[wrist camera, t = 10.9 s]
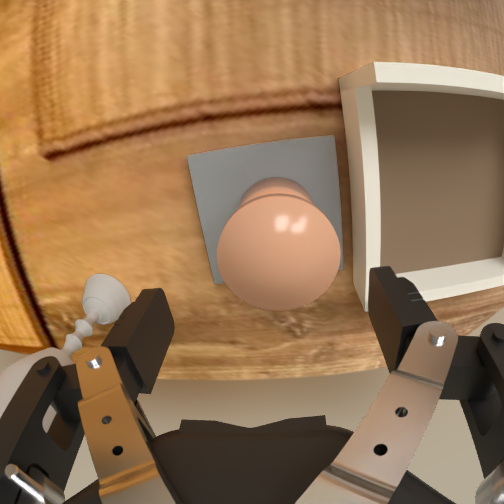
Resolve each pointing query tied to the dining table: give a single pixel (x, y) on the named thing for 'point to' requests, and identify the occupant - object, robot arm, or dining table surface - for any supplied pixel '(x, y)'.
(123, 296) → the chalice
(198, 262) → the dining table surface
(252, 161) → the slate tile
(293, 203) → the tan capped cylinder
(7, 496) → the robot arm
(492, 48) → the dining table surface
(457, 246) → the drawer
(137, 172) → the dining table surface
